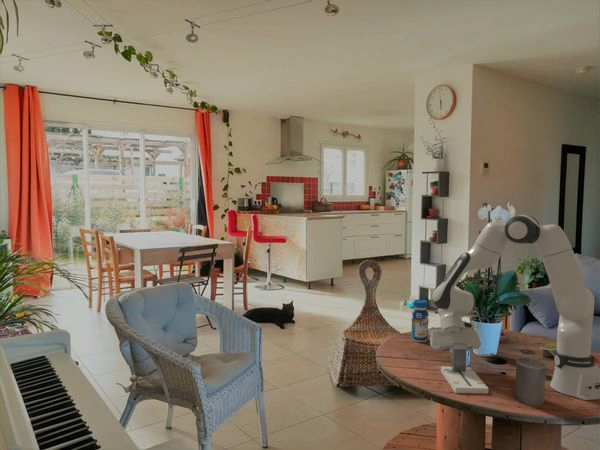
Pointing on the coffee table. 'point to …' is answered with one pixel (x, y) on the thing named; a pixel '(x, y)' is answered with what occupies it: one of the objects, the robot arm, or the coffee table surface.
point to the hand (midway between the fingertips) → (458, 358)
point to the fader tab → (459, 356)
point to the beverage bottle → (420, 321)
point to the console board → (464, 381)
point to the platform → (549, 349)
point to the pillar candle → (530, 381)
